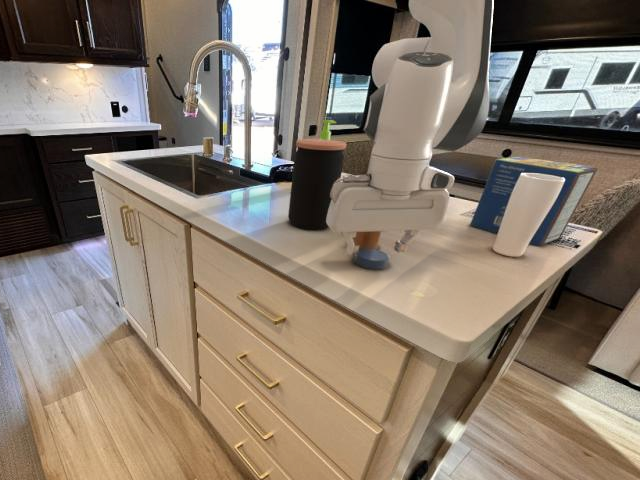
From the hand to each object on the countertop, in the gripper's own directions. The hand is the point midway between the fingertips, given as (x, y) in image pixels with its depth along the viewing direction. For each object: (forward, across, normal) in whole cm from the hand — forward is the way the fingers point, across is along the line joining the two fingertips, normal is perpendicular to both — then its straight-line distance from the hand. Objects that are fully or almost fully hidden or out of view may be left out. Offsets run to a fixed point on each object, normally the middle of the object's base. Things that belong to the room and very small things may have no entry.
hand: (375, 252), depth 62 cm
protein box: (+3, +42, +14) cm, 44 cm away
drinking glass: (+2, +30, +2) cm, 30 cm away
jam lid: (+1, -1, 0) cm, 1 cm away
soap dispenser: (+3, +11, +63) cm, 64 cm away
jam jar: (+2, +2, +8) cm, 8 cm away
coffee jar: (+2, -5, +22) cm, 23 cm away
